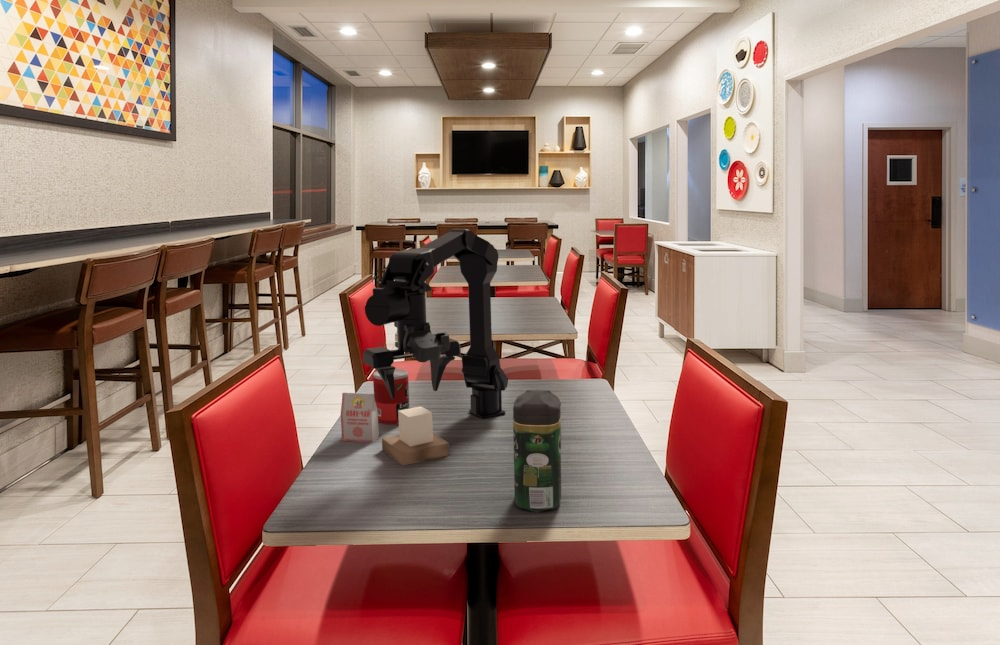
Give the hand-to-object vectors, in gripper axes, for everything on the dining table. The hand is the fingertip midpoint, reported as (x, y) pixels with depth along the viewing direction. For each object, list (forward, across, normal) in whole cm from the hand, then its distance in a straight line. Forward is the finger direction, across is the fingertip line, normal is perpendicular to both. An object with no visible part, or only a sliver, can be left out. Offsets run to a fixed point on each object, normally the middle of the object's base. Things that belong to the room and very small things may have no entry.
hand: (414, 394), depth 139 cm
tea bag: (+12, -6, +14) cm, 19 cm away
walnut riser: (+12, 0, 0) cm, 12 cm away
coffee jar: (+12, +7, -32) cm, 35 cm away
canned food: (+12, +5, +22) cm, 25 cm away
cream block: (+9, 0, 0) cm, 9 cm away
